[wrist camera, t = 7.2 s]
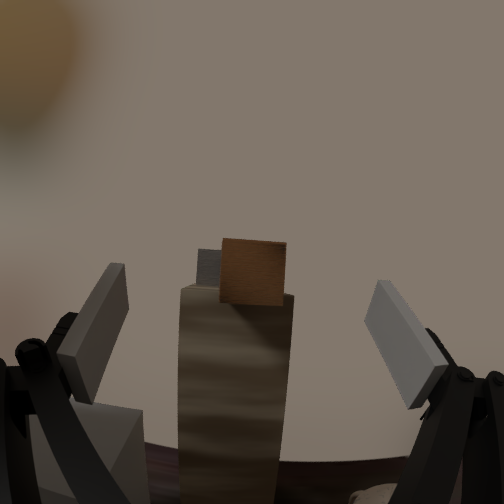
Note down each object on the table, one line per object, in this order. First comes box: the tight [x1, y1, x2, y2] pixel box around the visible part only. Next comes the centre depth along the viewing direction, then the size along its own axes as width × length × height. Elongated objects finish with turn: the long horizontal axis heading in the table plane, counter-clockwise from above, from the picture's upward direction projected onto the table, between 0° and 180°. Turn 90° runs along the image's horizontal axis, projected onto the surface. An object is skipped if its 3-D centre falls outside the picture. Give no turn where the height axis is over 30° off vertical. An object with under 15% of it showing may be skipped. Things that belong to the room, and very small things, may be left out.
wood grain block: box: [178, 283, 294, 504], centre depth 32 cm, size 16×9×30 cm, turn 6°
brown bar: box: [196, 238, 286, 306], centre depth 28 cm, size 24×8×4 cm, turn 6°
